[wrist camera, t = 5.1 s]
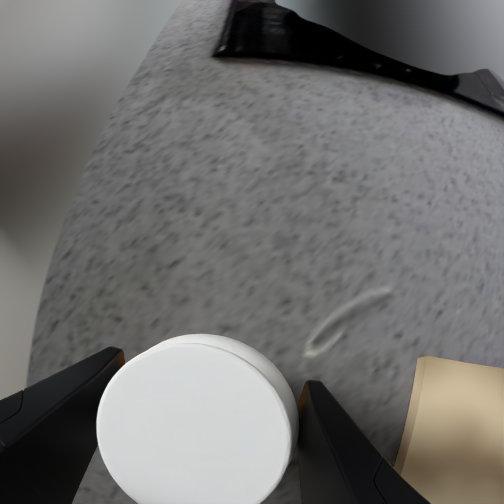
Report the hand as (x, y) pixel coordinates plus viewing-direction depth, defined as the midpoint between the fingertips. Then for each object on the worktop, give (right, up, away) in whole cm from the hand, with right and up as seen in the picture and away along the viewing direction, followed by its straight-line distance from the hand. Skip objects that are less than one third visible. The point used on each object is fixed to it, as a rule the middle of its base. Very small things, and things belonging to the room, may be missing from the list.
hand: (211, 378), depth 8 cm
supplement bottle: (-1, -4, +6) cm, 7 cm away
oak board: (+14, -10, +3) cm, 18 cm away
